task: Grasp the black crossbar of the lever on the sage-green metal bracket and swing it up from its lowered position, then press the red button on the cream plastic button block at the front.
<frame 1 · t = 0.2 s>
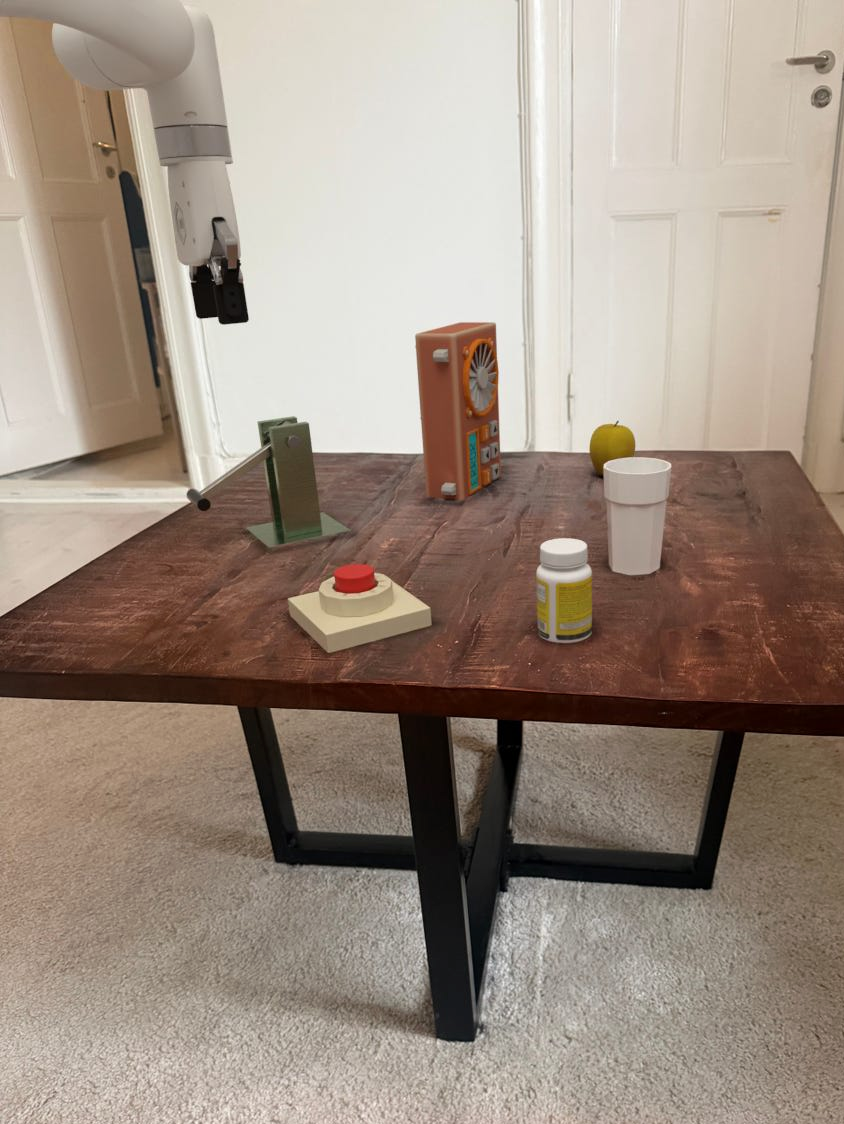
hand: (222, 320, 102), 24 cm above the table, tool pointing down, fingers open, 9 cm apart
cup: (633, 572, 92), on the table
control panel: (464, 495, 121), on the table
button: (354, 579, 81), point 4 cm above the table, slide at 0.1 cm
supplement bottle: (564, 638, 79), on the table
lever: (244, 466, 101), point 10 cm above the table, hinge at -26.0°
bracket: (298, 538, 107), on the table
apple: (611, 477, 126), on the table
button block: (359, 624, 83), on the table
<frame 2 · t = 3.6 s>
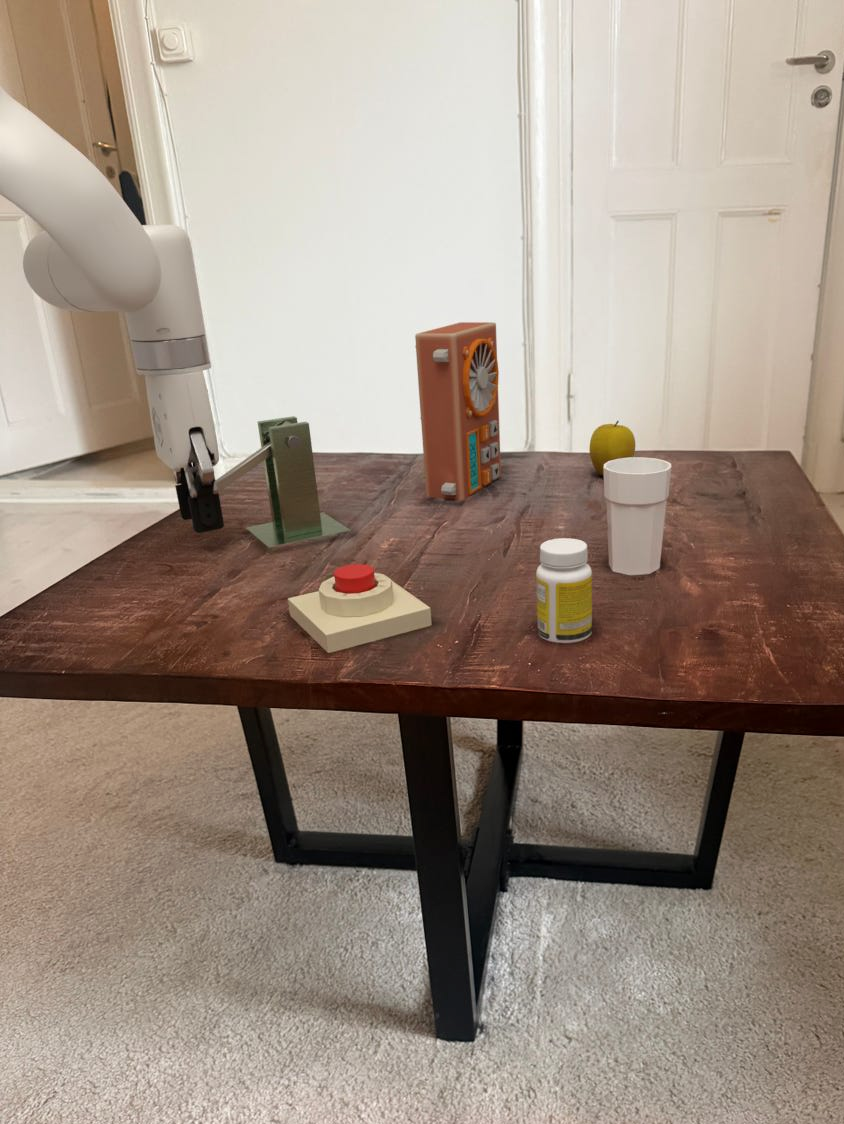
hand: (202, 521, 100), 4 cm above the table, tool pointing down, fingers closed on lever, 5 cm apart
lever: (244, 466, 101), point 10 cm above the table, hinge at -26.0°, touching gripper
everything else where it was.
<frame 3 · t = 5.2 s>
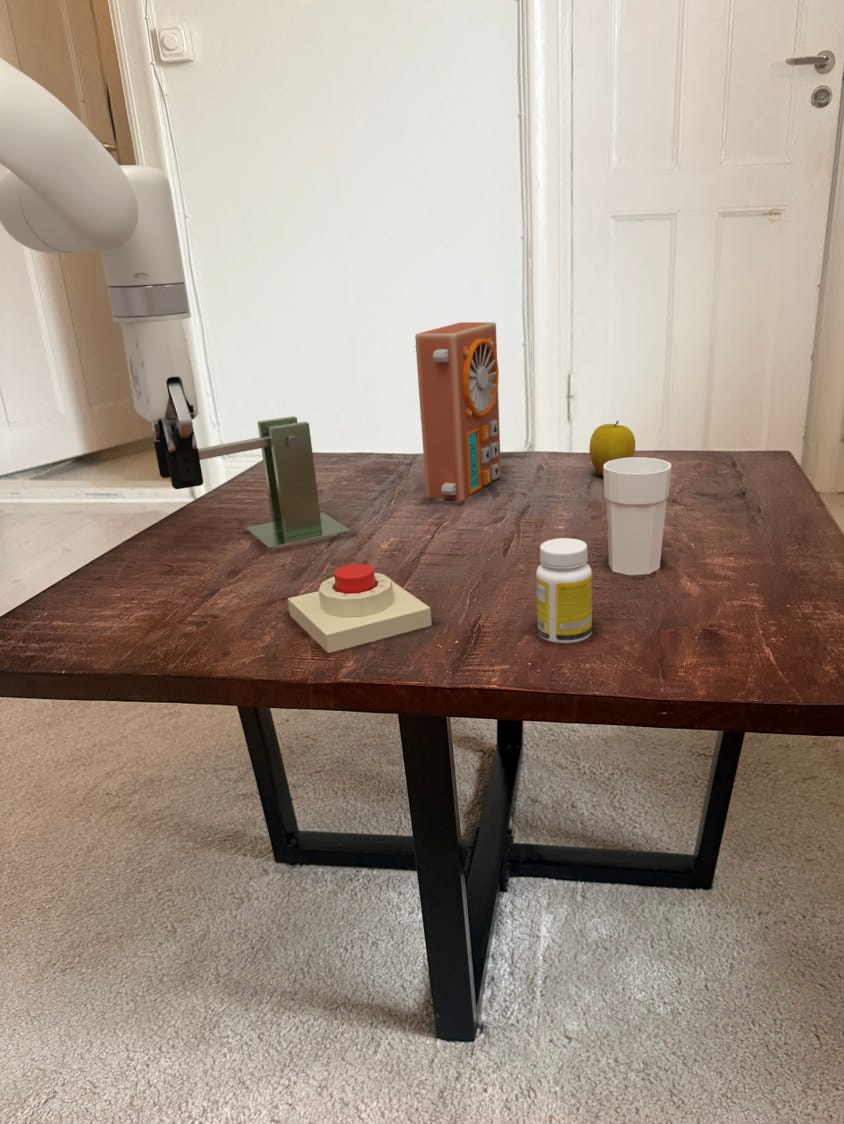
hand: (181, 479, 98), 9 cm above the table, tool pointing down, fingers closed on lever, 5 cm apart
lever: (236, 447, 99), point 12 cm above the table, hinge at -1.9°, touching gripper
everything else where it was.
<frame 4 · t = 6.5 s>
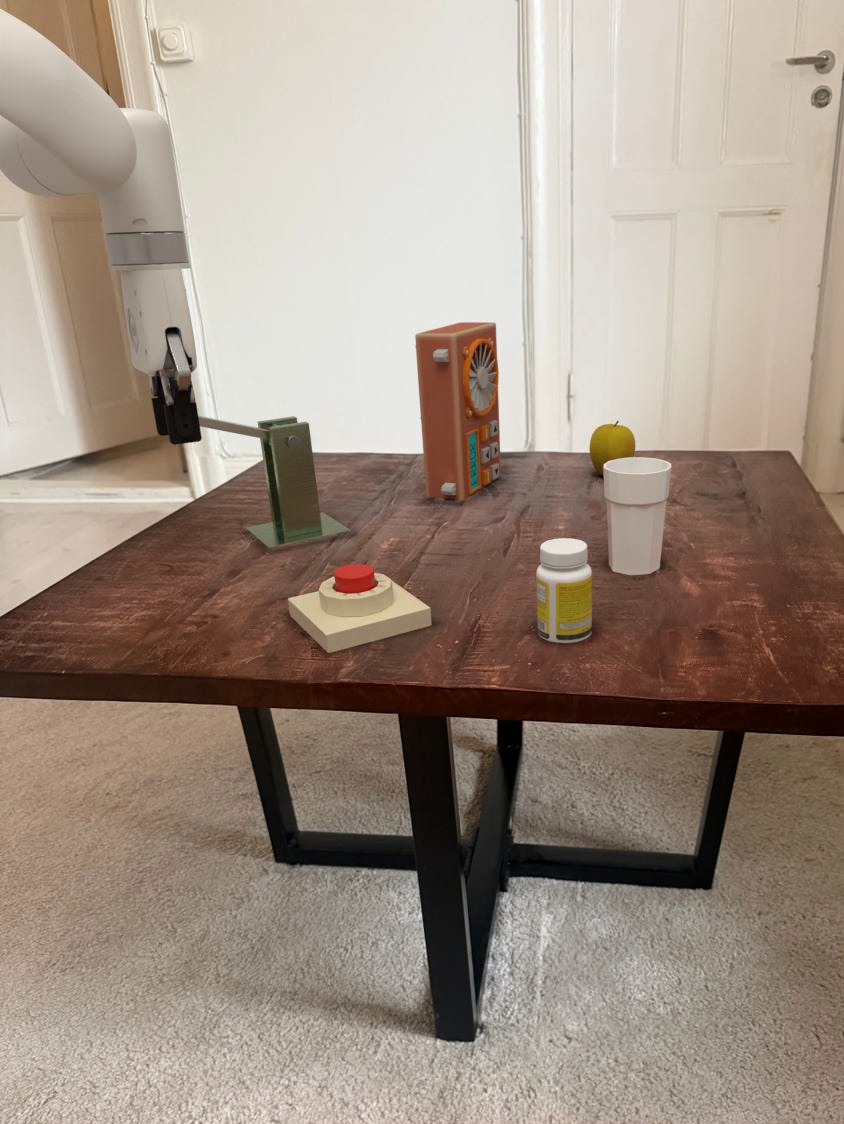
hand: (179, 436, 96), 14 cm above the table, tool pointing down, fingers closed on lever, 5 cm apart
lever: (236, 428, 99), point 14 cm above the table, hinge at 19.2°, touching gripper
everything else where it was.
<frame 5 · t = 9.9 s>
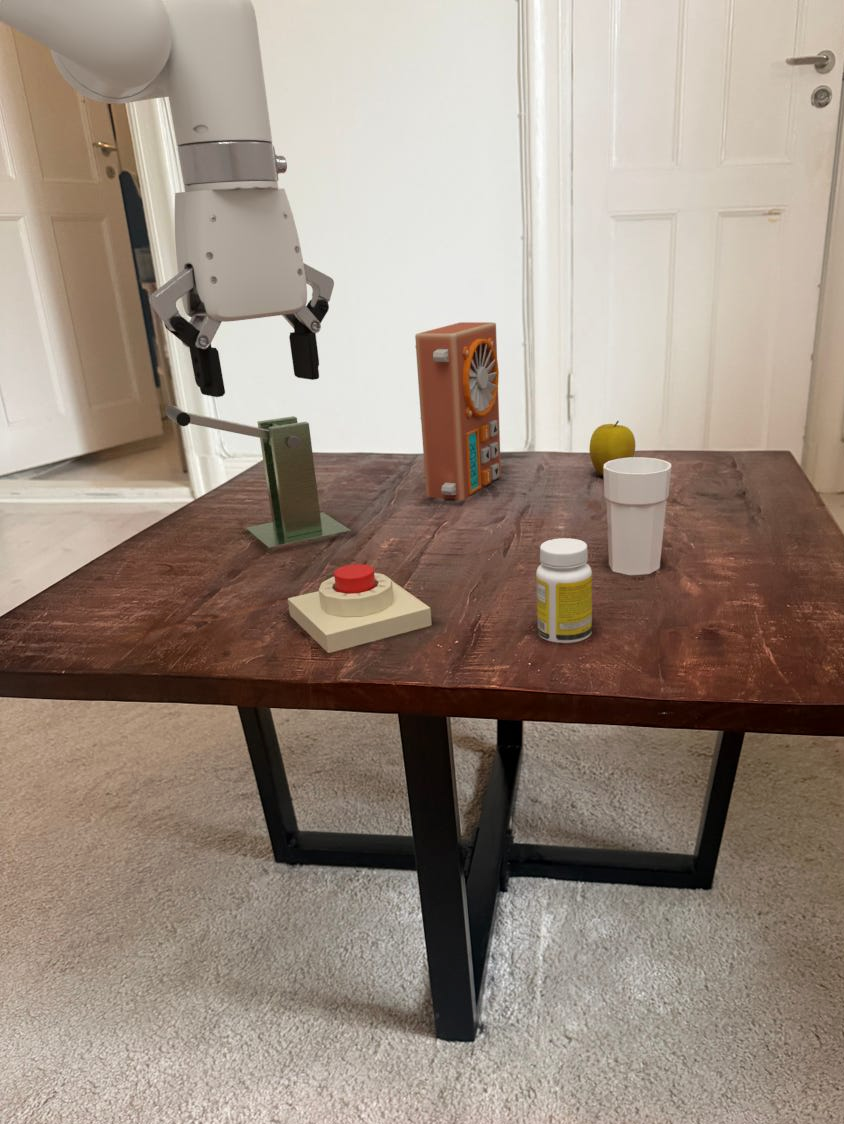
hand: (261, 386, 80), 21 cm above the table, tool pointing down, fingers open, 9 cm apart
lever: (236, 427, 99), point 14 cm above the table, hinge at 19.7°
everything else where it was.
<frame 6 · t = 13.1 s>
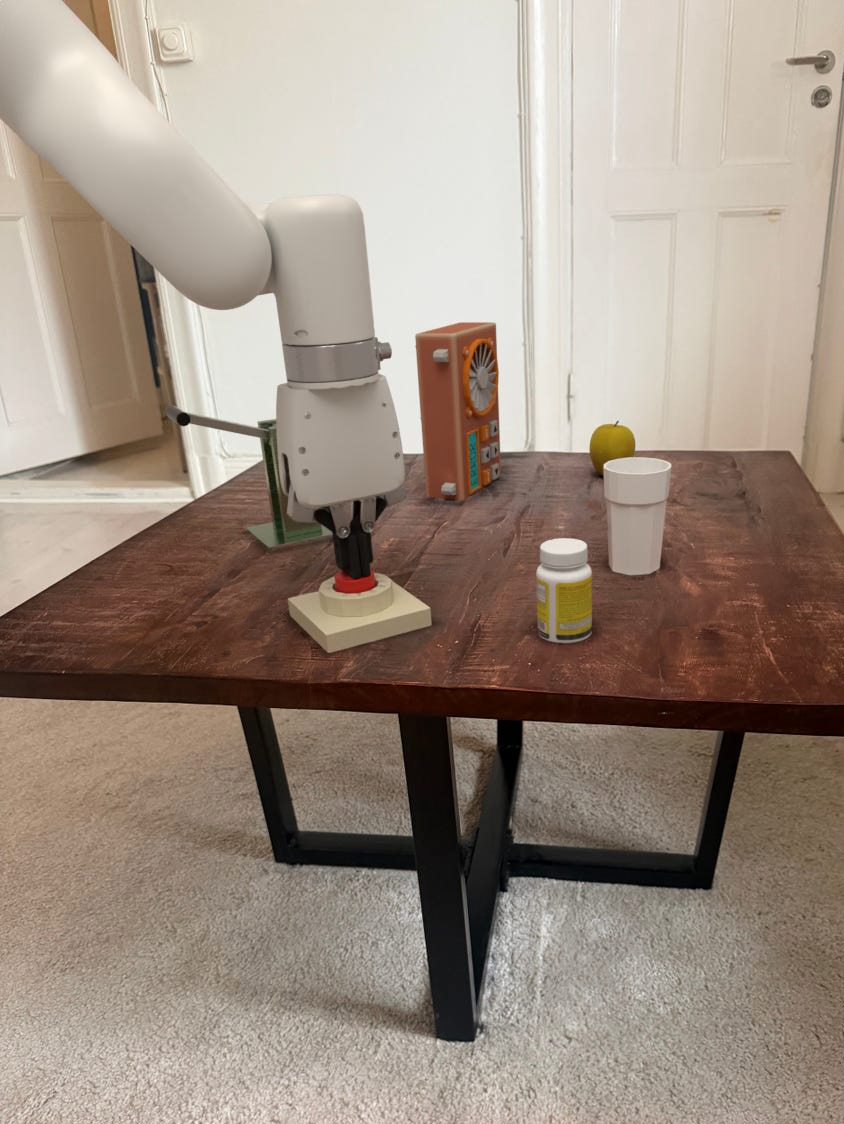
hand: (356, 573, 81), 5 cm above the table, tool pointing down, fingers closed
button: (355, 582, 81), point 4 cm above the table, slide at -0.2 cm, touching gripper
everything else where it was.
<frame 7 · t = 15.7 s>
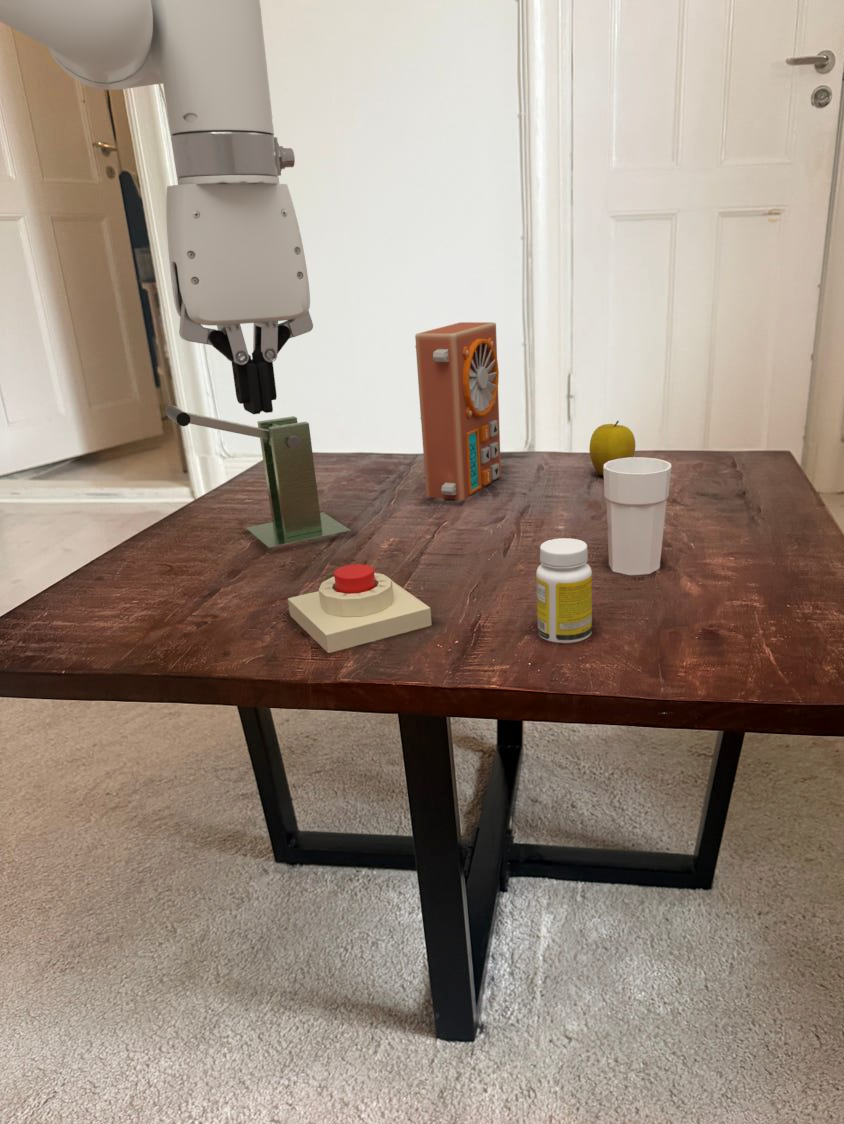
hand: (258, 410, 75), 20 cm above the table, tool pointing down, fingers closed
button: (354, 579, 81), point 4 cm above the table, slide at 0.1 cm
everything else where it was.
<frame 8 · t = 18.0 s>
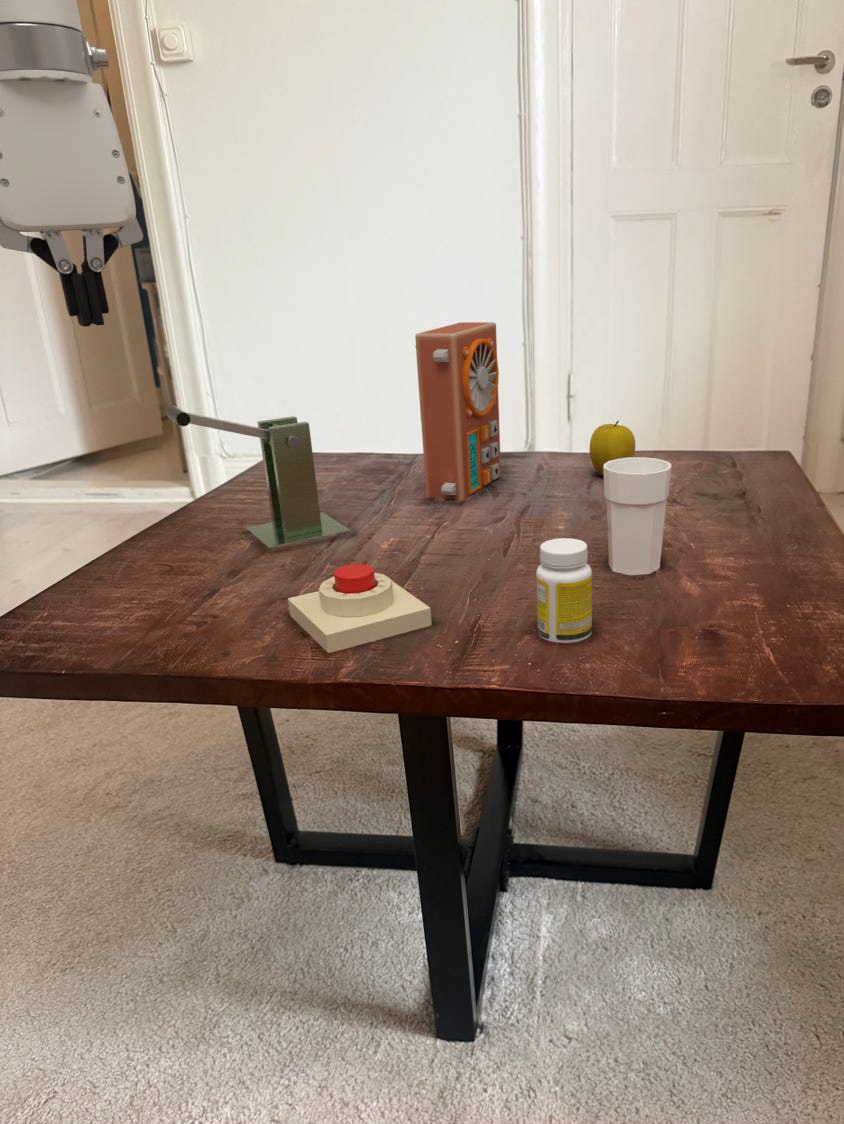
hand: (91, 324, 74), 27 cm above the table, tool pointing down, fingers closed
nothing on the table moved.
at the end: lever at +20° (first picture: -26°); button pushed in 1.1 cm at the most during the clip, back to where it started at the end; button slide at 0.1 cm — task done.
